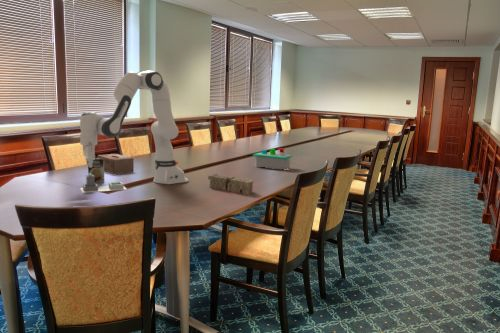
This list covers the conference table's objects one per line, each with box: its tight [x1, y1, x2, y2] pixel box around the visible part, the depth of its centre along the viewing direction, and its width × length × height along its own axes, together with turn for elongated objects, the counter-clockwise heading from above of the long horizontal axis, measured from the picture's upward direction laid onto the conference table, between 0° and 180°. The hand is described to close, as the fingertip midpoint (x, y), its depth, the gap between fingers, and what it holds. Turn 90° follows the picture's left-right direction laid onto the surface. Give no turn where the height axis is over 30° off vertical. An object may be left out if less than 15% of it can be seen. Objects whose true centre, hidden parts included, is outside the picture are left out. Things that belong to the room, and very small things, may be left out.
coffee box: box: [87, 157, 105, 184], centre depth 253 cm, size 9×6×16 cm
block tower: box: [207, 173, 254, 195], centre depth 252 cm, size 8×8×29 cm
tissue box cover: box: [97, 153, 135, 175], centre depth 300 cm, size 26×14×10 cm, turn 46°
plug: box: [85, 174, 96, 187], centre depth 233 cm, size 4×4×9 cm
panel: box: [80, 181, 127, 194], centre depth 237 cm, size 24×12×4 cm, turn 118°
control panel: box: [252, 147, 293, 170], centre depth 331 cm, size 15×17×30 cm
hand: (89, 165), depth 232 cm, fingers open, 8 cm apart
